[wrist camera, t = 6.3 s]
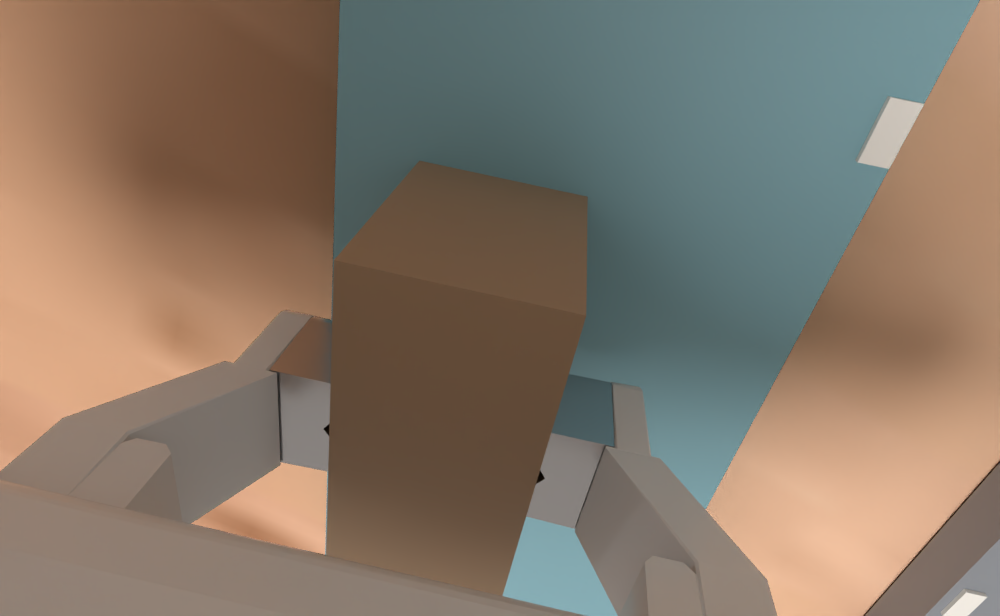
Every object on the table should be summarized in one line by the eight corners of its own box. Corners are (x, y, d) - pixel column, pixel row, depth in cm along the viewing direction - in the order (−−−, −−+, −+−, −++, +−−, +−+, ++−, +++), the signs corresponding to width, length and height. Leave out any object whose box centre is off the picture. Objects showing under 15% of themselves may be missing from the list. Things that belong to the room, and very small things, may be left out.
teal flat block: (378, -303, 8) (127, -619, 4) (1022, -178, 8) (1568, -353, 4) (340, 525, 18) (256, 717, 13) (635, 594, 17) (651, 811, 13)
